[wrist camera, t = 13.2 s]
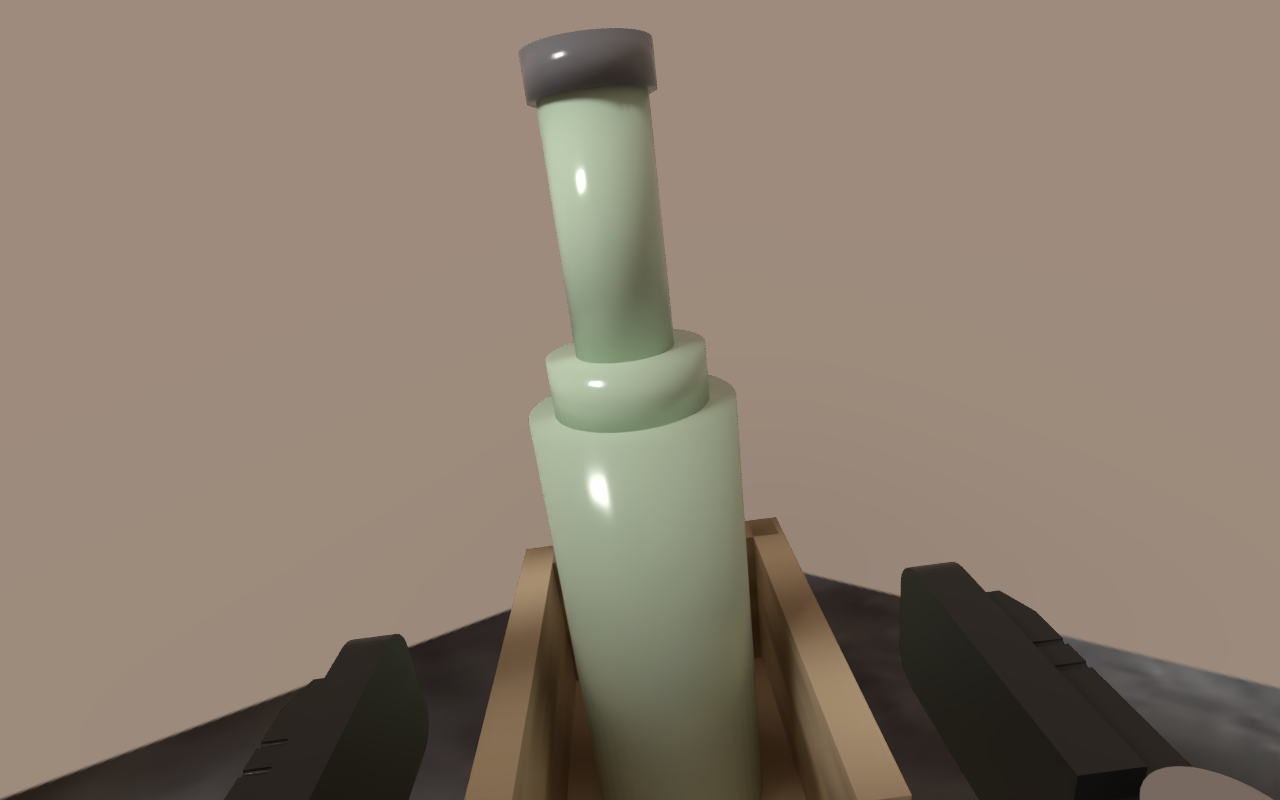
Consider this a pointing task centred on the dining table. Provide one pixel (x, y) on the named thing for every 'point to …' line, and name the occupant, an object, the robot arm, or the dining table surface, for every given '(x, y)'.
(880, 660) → the dining table surface
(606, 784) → the glass bottle
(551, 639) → the cradle
